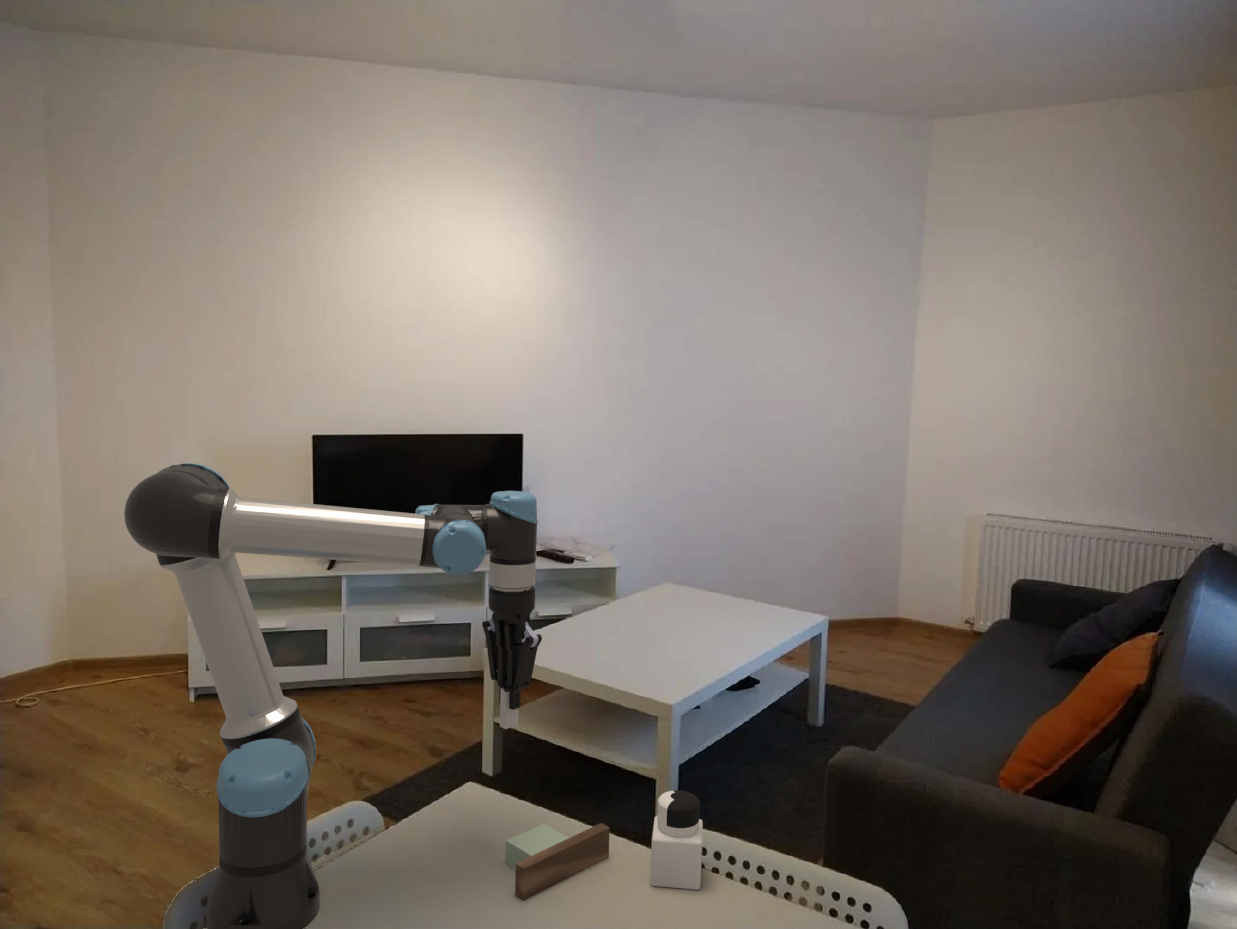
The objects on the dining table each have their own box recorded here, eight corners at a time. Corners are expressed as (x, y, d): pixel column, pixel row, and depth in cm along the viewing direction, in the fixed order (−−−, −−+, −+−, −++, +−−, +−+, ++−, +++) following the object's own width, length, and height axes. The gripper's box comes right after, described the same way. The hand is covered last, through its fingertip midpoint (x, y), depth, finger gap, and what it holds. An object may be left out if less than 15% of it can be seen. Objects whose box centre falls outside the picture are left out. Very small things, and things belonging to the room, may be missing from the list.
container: (700, 864, 146) (704, 787, 144) (700, 891, 138) (703, 810, 137) (652, 860, 147) (655, 783, 145) (649, 886, 139) (652, 806, 138)
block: (505, 864, 144) (506, 840, 144) (543, 846, 150) (543, 823, 150) (538, 885, 139) (538, 860, 138) (576, 866, 145) (576, 842, 144)
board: (515, 895, 136) (515, 863, 135) (600, 852, 148) (601, 823, 148) (523, 900, 134) (524, 868, 134) (608, 856, 147) (609, 827, 147)
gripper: (556, 590, 145) (552, 731, 148) (505, 576, 154) (502, 709, 157) (519, 597, 140) (516, 744, 142) (469, 582, 149) (467, 719, 151)
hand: (509, 725), depth 150 cm, fingers closed
